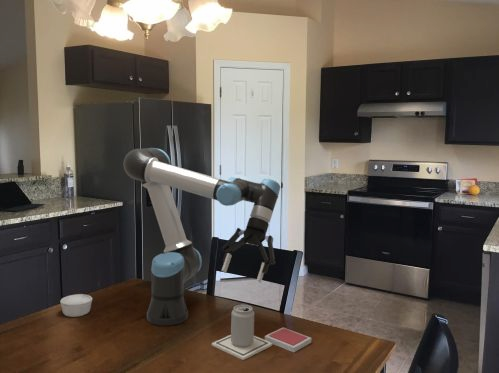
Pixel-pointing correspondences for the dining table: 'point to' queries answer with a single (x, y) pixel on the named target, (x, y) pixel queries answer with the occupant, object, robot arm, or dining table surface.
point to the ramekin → (76, 305)
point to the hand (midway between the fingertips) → (240, 276)
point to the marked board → (241, 352)
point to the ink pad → (288, 339)
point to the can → (242, 325)
